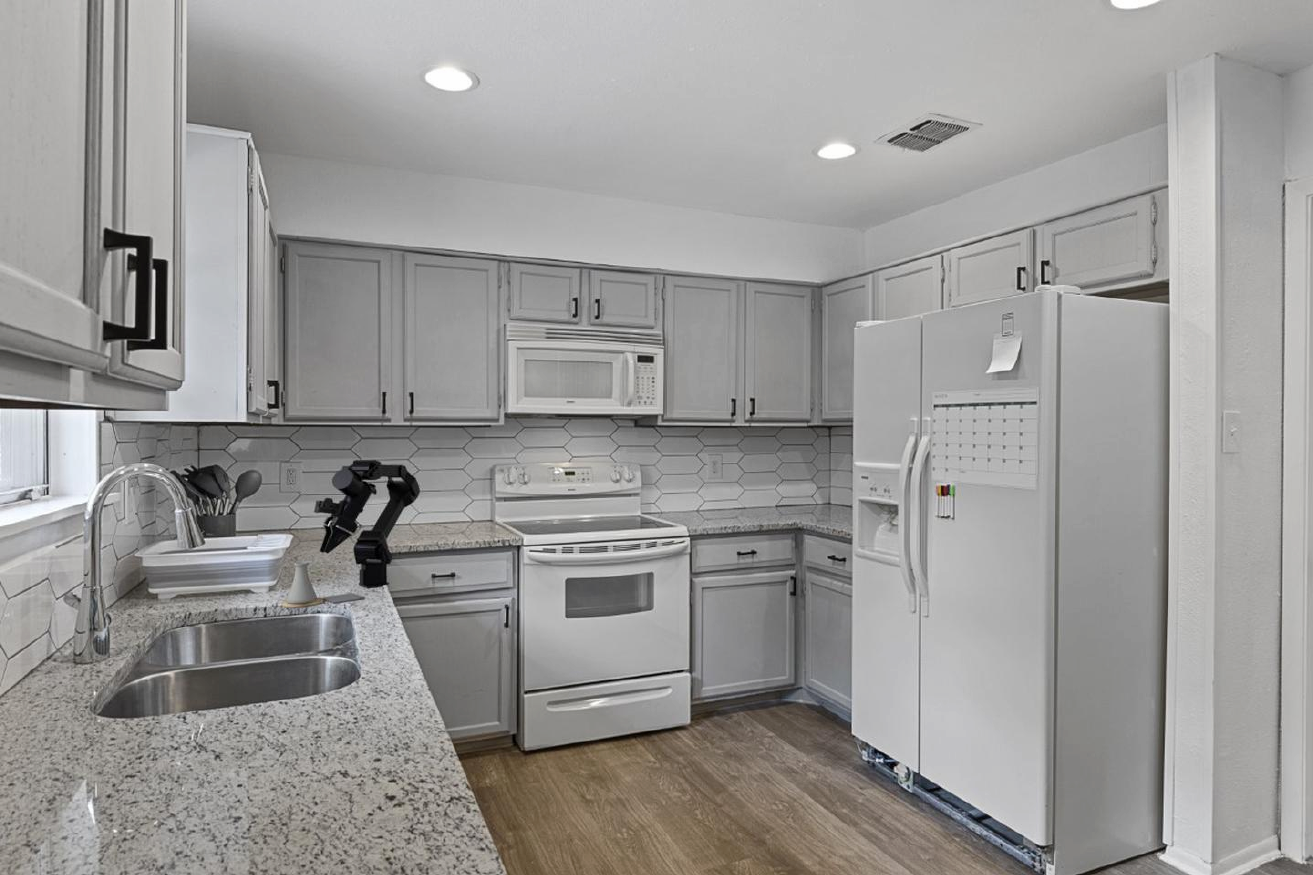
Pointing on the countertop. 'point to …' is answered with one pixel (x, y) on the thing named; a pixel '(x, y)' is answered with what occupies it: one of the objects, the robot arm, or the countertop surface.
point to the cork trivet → (303, 603)
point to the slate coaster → (343, 598)
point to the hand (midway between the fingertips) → (323, 552)
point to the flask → (301, 586)
